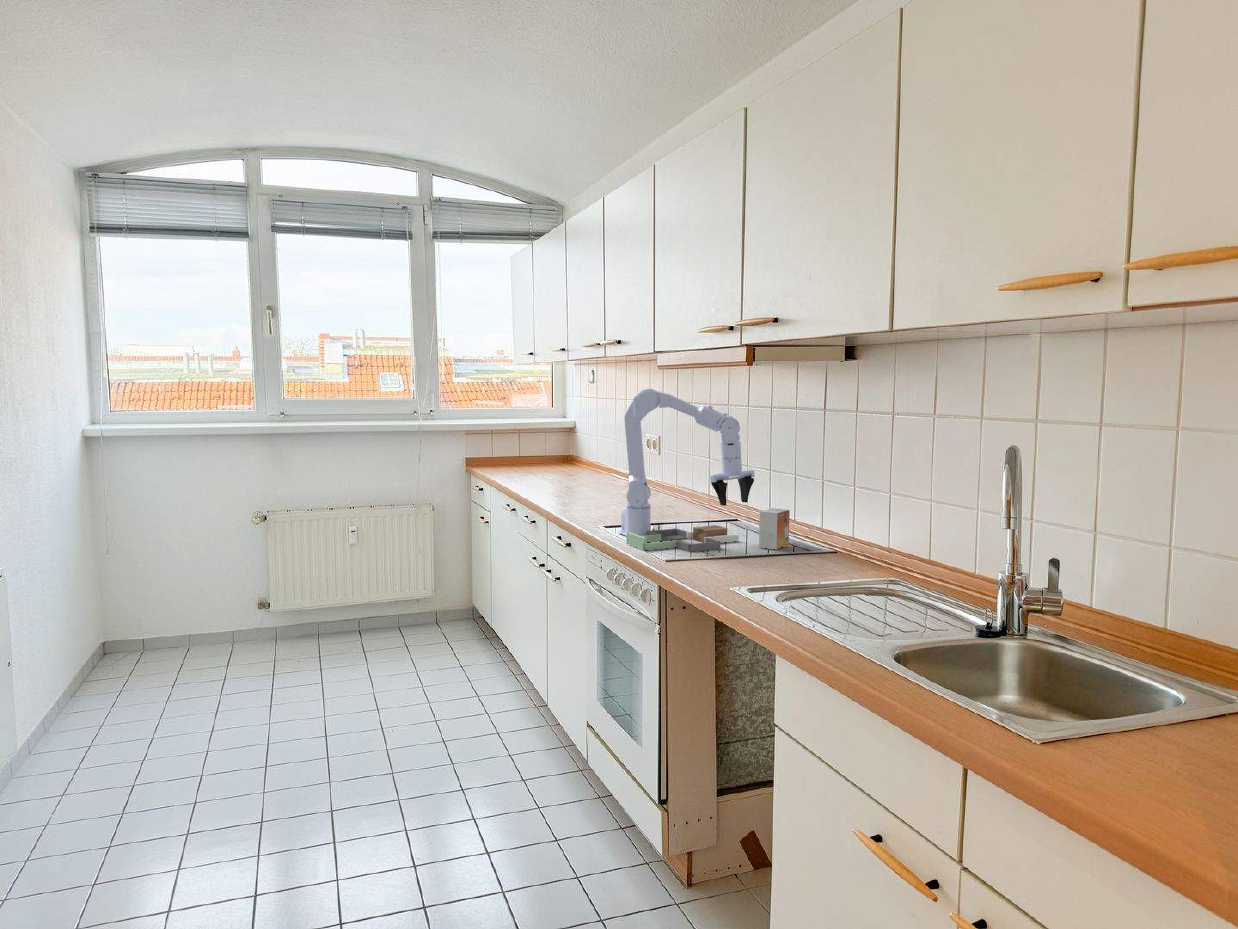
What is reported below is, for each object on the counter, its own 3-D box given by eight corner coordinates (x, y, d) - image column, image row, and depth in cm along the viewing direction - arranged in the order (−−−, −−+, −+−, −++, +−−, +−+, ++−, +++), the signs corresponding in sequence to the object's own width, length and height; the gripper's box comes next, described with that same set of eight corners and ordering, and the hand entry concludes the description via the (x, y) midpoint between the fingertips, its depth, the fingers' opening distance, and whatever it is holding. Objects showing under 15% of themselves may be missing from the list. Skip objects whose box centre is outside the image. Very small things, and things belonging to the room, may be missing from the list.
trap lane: (616, 540, 246) (616, 528, 245) (706, 532, 260) (706, 520, 260) (655, 555, 225) (656, 542, 225) (751, 545, 240) (752, 533, 240)
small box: (776, 550, 233) (777, 512, 232) (758, 548, 236) (759, 511, 235) (789, 546, 239) (790, 509, 238) (771, 543, 242) (772, 507, 241)
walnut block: (693, 540, 248) (693, 527, 247) (715, 538, 252) (715, 525, 251) (704, 544, 243) (705, 530, 242) (727, 541, 247) (727, 528, 246)
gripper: (718, 461, 241) (721, 508, 242) (759, 456, 247) (762, 501, 249) (705, 459, 247) (707, 505, 248) (745, 455, 254) (747, 499, 255)
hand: (733, 503), depth 249 cm, fingers open, 7 cm apart
